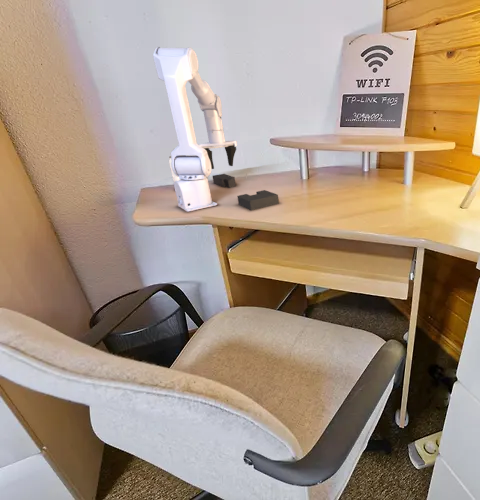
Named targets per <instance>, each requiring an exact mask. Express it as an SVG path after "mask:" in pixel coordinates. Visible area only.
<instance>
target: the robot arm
mask: <svg viewBox="0 0 480 500" xmlns="http://www.w3.org/2000/svg"><path fill="white" fill-rule="evenodd" d="M152 58H153V62H154V67H155V71H156V74H157V77H158V79H159V80H161V81H162V82H164V86H165V90H166V91H165V92H166V95H167V99H168V103H169V107H170V111H171V117H172V121H173V125H174V130H175V134H176V138H177V143H178V144H177V145H176V147H175V148H173V149H172V150H171V152H170V156H171V160H172V161H171V165H172V170H173V172H174V174H175V175H176V176H178V177H179V179H181V180H179V181H175V182H174V181H173V187H174V188H173V189H174V190H175V191H174V192H175V196H176V200H177V204H178V205H177V206H178V207H179V208H181V209H182V210H184V211H185V212H187V213H188V212H192V211H193V212H194V211H197V210H202V209H205V208H210V207H211V208H212V207H214V206H218V203H217V202H214V201H213V200H212V194H211V190H210V183H209V179H208V178H209V177H210V175H211V173H212V170H214V169H215V166H214V161H213V160H214V159H213V151H212V149H220V148H224V151H225V153H226V158H227V163H228V166H229V167H233V166H234V159H235V154H236V152H237V147H238V141H237V140H226V138H225V131H224V124H223V120H222V117H223V110H222V108H223V105H222V100H221V97H220V96H219V95H217V94H216V93H214V91H213V89H212V88H211V86H210V85H209V83H208V82H207V81H206V80H205V79H202V77H201V74H200V73H199V66H200V65H199V59H198V56H197V54H196V51H195V50H194V49H193V48H192V47H190V46H189V47H160V46H156V47H155V48H154V51H153V54H152ZM187 82H188V83H189V84H190V85H191V86H190V90H191V92H192V94H193V95H194V96H195V98H196V99H197V104H198V105H199V108H200V110H201V111H202V112H203V117H204V122H205V127H206V133H207V139H208V142H201V143H198V142H197V137H196V131H195V128H194V127H195V126H194V123H193V117H192V112H191V108H190V102H189V98H188V93H187V88H186V86H187V85H186V84H187ZM181 155H186V156H181Z"/></svg>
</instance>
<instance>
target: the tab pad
mask: <svg viewBox="0 0 480 500" xmlns="http://www.w3.org/2000/svg"><path fill="white" fill-rule="evenodd" d="M212 182H213V184H215V185H217V186H220V187H222V188H226V187H227V188H229V189H231V188H236V184H237V183H236V178H235V176H232V175H229V174H226V173H221V174H213V175H212Z"/></svg>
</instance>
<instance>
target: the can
mask: <svg viewBox="0 0 480 500" xmlns="http://www.w3.org/2000/svg"><path fill="white" fill-rule="evenodd" d="M181 156H187V155H181ZM171 161H172V160H171V155H170V156H169V160H168V165H169V168H170V172H171V176H172V180H173V183H174V182H175V181H179V180H181V179H179V177H178V176H176V175H175V174H174V172H173V170H172V165H171Z"/></svg>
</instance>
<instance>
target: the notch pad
mask: <svg viewBox="0 0 480 500" xmlns="http://www.w3.org/2000/svg"><path fill="white" fill-rule="evenodd" d="M236 197H237V202H238V206H240V207H243V208H244V209H246V210H249V211H255V210H259V209H263V208H267V207H271V206H275V205H279V204H280V202H279V194H277V193H274V192H271V191H269V190H266V189H262V190H258V191H256V194H247V193H245V194H240V195H237V196H236Z"/></svg>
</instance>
